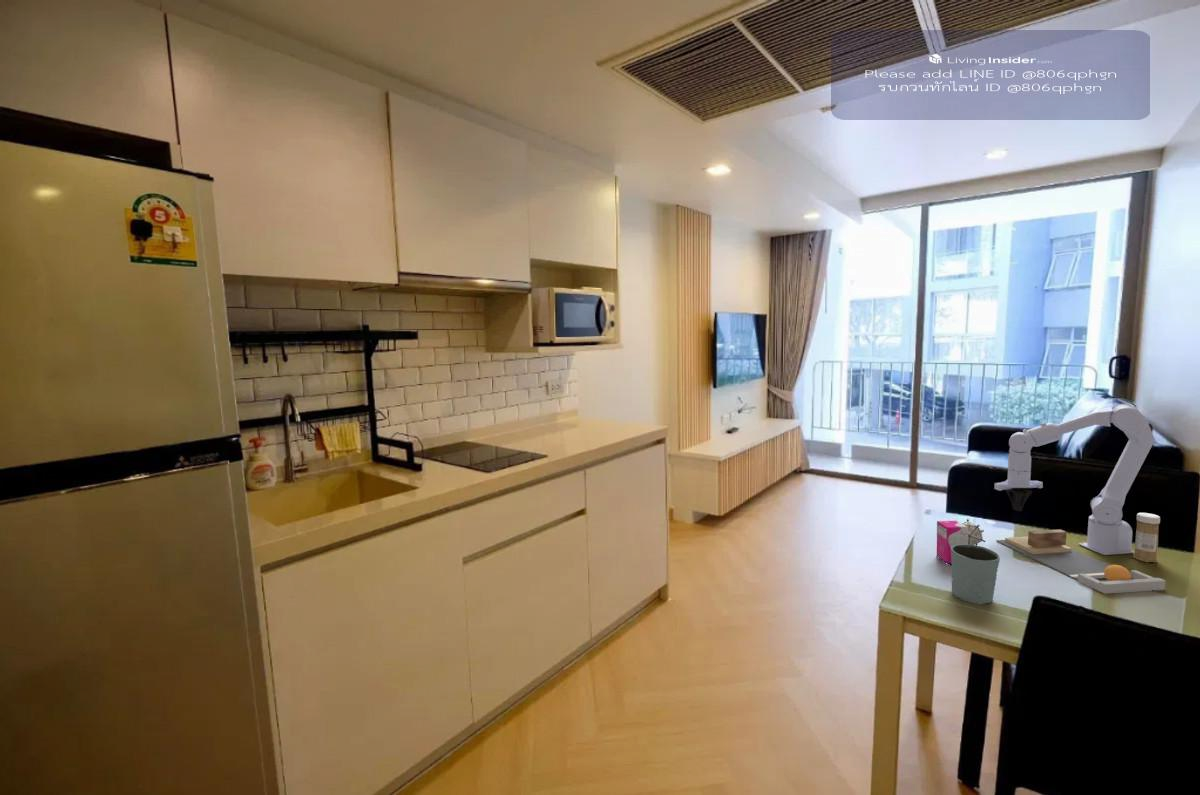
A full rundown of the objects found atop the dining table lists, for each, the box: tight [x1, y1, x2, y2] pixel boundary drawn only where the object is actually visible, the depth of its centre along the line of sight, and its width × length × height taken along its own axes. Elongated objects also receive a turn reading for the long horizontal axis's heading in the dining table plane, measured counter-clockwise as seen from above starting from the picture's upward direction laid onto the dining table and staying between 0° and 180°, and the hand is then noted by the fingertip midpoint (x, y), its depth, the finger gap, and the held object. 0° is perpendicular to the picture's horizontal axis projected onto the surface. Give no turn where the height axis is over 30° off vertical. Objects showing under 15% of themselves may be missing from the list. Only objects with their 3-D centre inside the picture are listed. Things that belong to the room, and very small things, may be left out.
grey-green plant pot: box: [950, 544, 1001, 604], centre depth 132 cm, size 10×10×12 cm
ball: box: [1104, 564, 1132, 581], centre depth 135 cm, size 5×5×5 cm
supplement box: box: [936, 520, 968, 565], centre depth 152 cm, size 6×6×12 cm
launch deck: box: [996, 535, 1166, 595], centre depth 147 cm, size 16×34×2 cm, turn 2°
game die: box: [961, 518, 986, 546], centre depth 161 cm, size 9×8×10 cm
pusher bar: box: [1027, 528, 1068, 547], centre depth 155 cm, size 10×2×4 cm, turn 92°
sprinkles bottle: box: [1133, 512, 1161, 563], centre depth 146 cm, size 5×5×13 cm
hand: (1017, 510), depth 167 cm, fingers closed
